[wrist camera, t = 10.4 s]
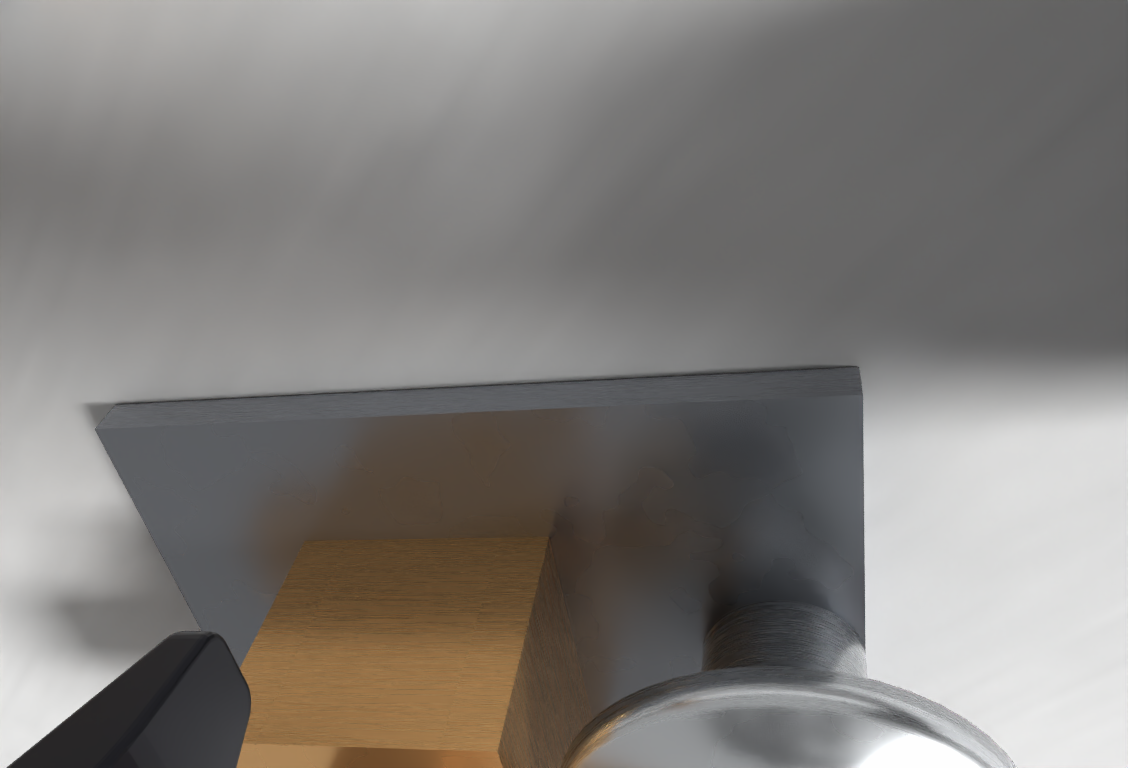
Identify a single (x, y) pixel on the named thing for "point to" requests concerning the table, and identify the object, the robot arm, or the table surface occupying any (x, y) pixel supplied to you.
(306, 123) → the table surface
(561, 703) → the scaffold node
